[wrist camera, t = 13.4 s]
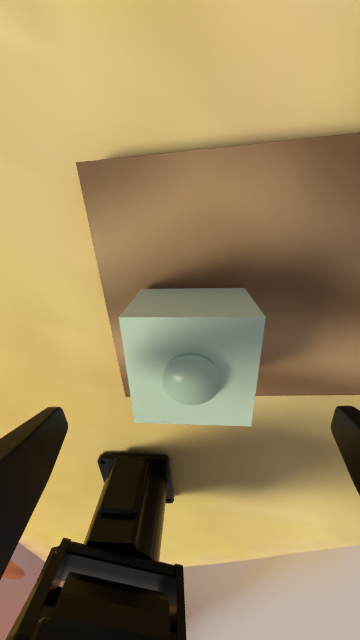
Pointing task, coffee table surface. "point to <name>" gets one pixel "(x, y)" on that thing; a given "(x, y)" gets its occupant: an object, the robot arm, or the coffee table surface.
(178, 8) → the coffee table surface
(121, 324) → the pale green knobbed block
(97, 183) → the board
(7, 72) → the coffee table surface
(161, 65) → the coffee table surface
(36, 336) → the coffee table surface
